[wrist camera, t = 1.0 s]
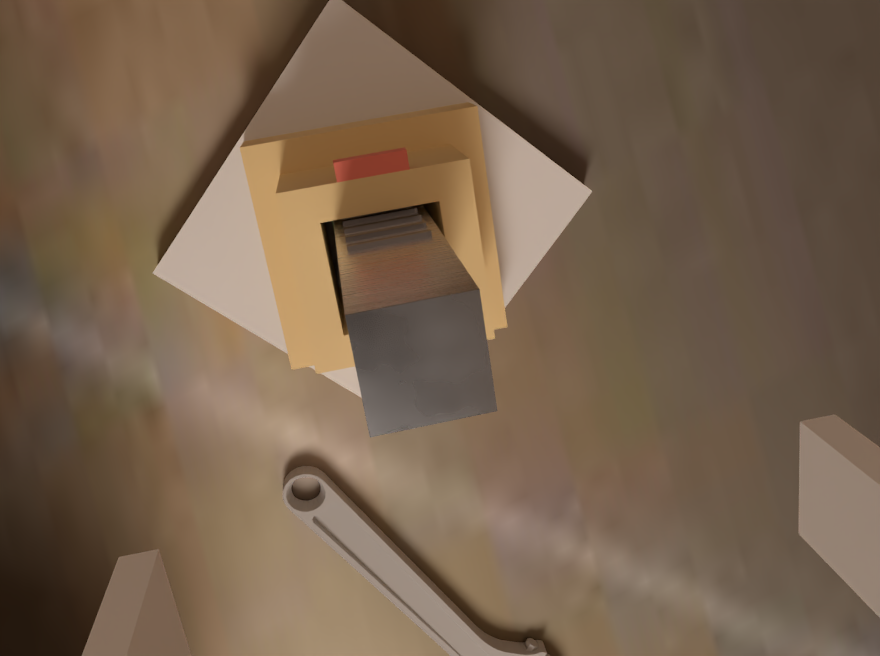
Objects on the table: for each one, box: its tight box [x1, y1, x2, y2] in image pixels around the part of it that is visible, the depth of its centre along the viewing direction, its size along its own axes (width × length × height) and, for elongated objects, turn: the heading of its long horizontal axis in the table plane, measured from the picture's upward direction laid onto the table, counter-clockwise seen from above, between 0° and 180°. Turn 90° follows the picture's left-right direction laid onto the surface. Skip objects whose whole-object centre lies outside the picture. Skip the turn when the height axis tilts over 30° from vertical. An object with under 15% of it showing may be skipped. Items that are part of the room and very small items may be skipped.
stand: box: [153, 0, 592, 429], centre depth 40 cm, size 23×23×9 cm
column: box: [332, 204, 497, 437], centre depth 33 cm, size 4×4×18 cm
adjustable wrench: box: [283, 466, 550, 656], centre depth 52 cm, size 25×6×2 cm, turn 34°
